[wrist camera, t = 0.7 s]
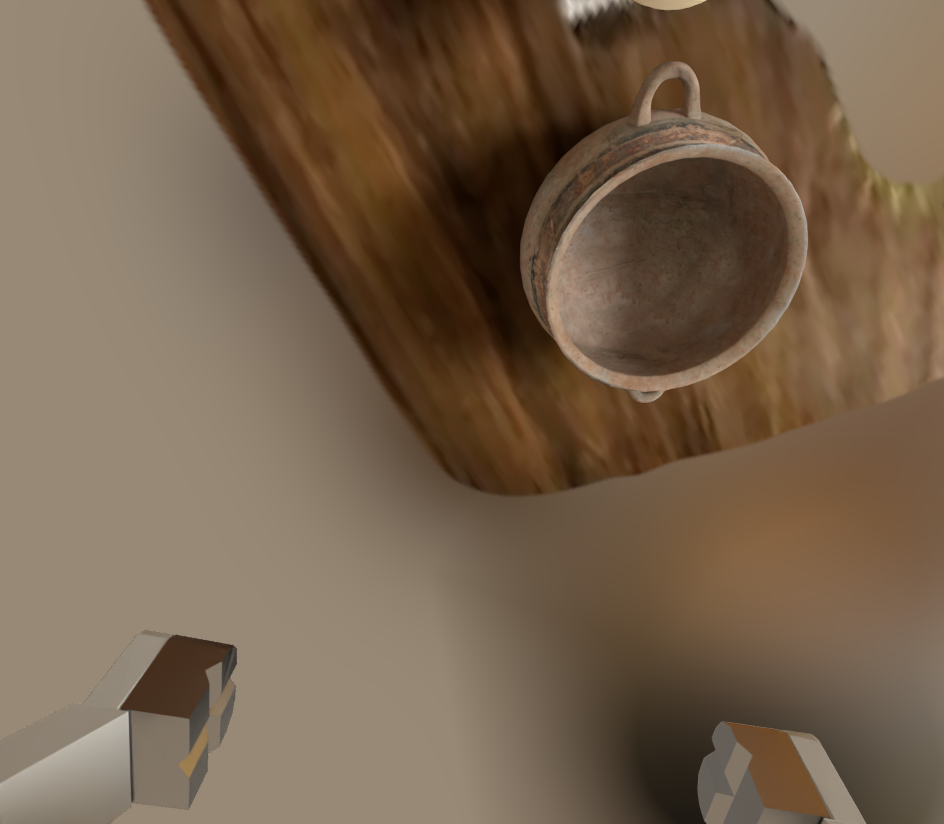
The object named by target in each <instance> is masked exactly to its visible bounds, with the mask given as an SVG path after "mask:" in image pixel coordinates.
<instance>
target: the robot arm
mask: <svg viewBox="0 0 944 824" xmlns="http://www.w3.org/2000/svg"><path fill="white" fill-rule="evenodd" d="M236 665H237V648H236V647H235V646H234V645H230V644H224V643H219V642H214V641H208V640H203V639H197V638H192V637H186V636H180V635H170V634H165V633H160V632H155V631H150V630H144V631H142V632H141V633H139V634H137V635H136V636H135V637H134V639H133V640H132V642H131V643H130V644H129V645H128V646H127V648H126V649H125V650H124V652H123V653H122V654H121V655H120V657H119V658H118V659H117V660H116V662H115V663H114V665H113V666H112V667H111V668H110V670H109V671H108V672H107V673H106V675H105V676H104V677H103V678H102V680H101V681H100V682H99V684H98V685H97V686H96V687H95V689H94V690H93V691H92V692H91V694H90V695H89V696H88V698H87V699H86V700H85V701H84V703H83V704H77V703H72V704H70V705H68V706H66V707H64V708H62V709H60V710H59V711H56V712H54V713H53V714H51V715H48V716H46V717H44V718H43V719H41V720H39V721H37V722H35V723H33V724H31V725H29V726H27V727H25V728H23V729H21V730H19V731H17V732H15V733H13V734H11V735H9V736H8V737H6V738H4V739H2V740H0V824H111V823H112V822H113V821H114V820H115V819H117V818H118V817H119V816H120V815H122V814H123V813H124V812H126V811H127V810H128V809H129V808H131V803H135V804H143V805H152V806H160V807H169V808H178V809H185V810H189V808H190V806H191V804H192V802H193V800H194V798H195V796H196V794H197V792H198V790H199V788H200V786H201V784H202V782H203V779H204V777H205V775H206V773H207V771H208V754H209V753H211V752H212V751H214V750H215V749H216V748H218V747H219V746H220V744H221V742H222V740H223V738H224V735H225V733H226V731H227V728H228V725H229V722H230V719H231V716H232V712H233V707H234V701H235V692H236V685H235V684H234V682H233V681H232V680H231V678H230V677H231V674H232V673H233V671H234V669H235V666H236ZM712 740H713V743H714V746H715V748H716V750H715V751H714V752H712V753H711V754H710V755H708V756H707V757H705V758H704V760H703V763H702V765H701V768H700V771H699V777H698V796H699V803H700V808H701V811H702V814H703V818H704V821H705V822H706V823H707V824H866V823H865V821H864V819H863V817H862V816H861V814H860V812H859V810H858V808H857V807H856V805H855V803H854V802H853V800H852V798H851V796H850V794H849V793H848V791H847V789H846V787H845V786H844V784H843V782H842V780H841V779H840V777H839V775H838V773H837V772H836V770H835V768H834V766H833V765H832V763H831V761H830V759H829V758H828V756H827V754H826V752H825V751H824V749H823V747H822V745H821V744H820V742H819V740H818V739H817V738H815V737H814V736H813V735H812V734H807V733H800V732H793V731H786V730H777V729H771V728H763V727H757V726H750V725H743V724H736V723H730V722H723V721H722V722H721V723H720V724H719V725H718V726H717V727H716V729H715V732H714V734H713V737H712Z"/></svg>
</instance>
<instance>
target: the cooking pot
mask: <svg viewBox="0 0 944 824" xmlns="http://www.w3.org/2000/svg"><path fill="white" fill-rule="evenodd" d="M672 78H678V79H680V80H681V81H682V84H683V86H684V91H685V101H684V105H683V108H682V109H653V110H651V101H652V98H653V95H654V93H655V91H656V89H657V88H658V86H659V85H660V84H661V83H662V82H663V81H664V80H667V79H672ZM807 245H808V237H807V221H806V217H805V214H804V210H803V206H802V203H801V200H800V198H799V197H798V195H797V193H796V191H795V189H794V187H793V185H792V184H791V182H790V181H789V180H788V179H787V178H786V177H785V176H784V175H783V173H782V172H781V171H780V170H779V169H778V168H777V167H776V166H774V165H773V164H771V163H770V162H769V160H768V158H767V156H766V155H765V154H764V152H763V151H762V150H761V149H760V148H759V147H758V146H757V145H756V144H755V142H754V141H753V140H752V139H751V138H750V137H749V136H748V135H746V134H745V133H743V132H742V131H740V130H739V129H738V128H736V127H735V126H733V125H732V124H730V123H729V122H727V121H724V120H722V119H719V118H717V117H714V116H712V115H709V114H707V113H704V112H701V109H700V89H699V83H698V80H697V77H696V75H695V73H694V72H693V70H692V69H691V68H690V67H689V66H688V65H687V64H685V63H682V62H677V61H674V62H667V63H664V64H661V65H659V66H658V67H656V68H655V69H654V70H653V71H652V72H651V73H650V74H649V75H648V77H647V78H646V80H645V81H644V83H643V85H642V87H641V89H640V91H639V93H638V95H637V97H636V99H635V102H634V104H633V107H632V109H631V112H630V114H629V115H628V116H625V117H623V118H621V119H618V120H616V121H613V122H611V123H609V124H606V125H604V126H602V127H601V128H599V129H598V130H596V131H595V132H593V133H591V134H590V135H588V136H587V137H585V138H583V139H582V140H581V141H580V142H579V143H577V144H576V145H575V146H574V147H573V148H572V149H571V150H569V151H568V152H567V153H566V154H565V155H564V156H563V157H562V158H561V159H560V160H559V162H558V163H557V164H556V165H555V166H554V168H553V169H552V170H551V171H550V172H549V174H548V175H547V176H546V178H545V180H544V181H543V183H542V185H541V186H540V188H539V190H538V191H537V193H536V195H535V196H534V199H533V201H532V204H531V207H530V209H529V212H528V214H527V217H526V219H525V224H524V228H523V233H522V238H521V245H520V269H521V276H522V282H523V287H524V290H525V293H526V296H527V298H528V301H529V304H530V307H531V309H532V311H533V312H534V314H535V316H536V317H537V319H538V321H539V322H540V324H541V325H542V327H543V328H544V329H545V330H546V331H547V332H548V333H549V335H550V336H551V337H552V338H553V339H554V340H555V341H556V343H557V344H558V346H559V348H560V349H561V351H562V353H563V354H564V355H565V357H566V358H567V359H568V360H569V361H570V362H571V363H572V364H573V365H574V366H575V367H576V368H577V369H579V370H580V371H581V372H583V373H584V374H586V375H587V376H589V377H590V378H592V379H594V380H596V381H598V382H601V383H603V384H605V385H607V386H611V387H615V388H619V389H623V390H627V391H628V393H629V394H630V396H631V397H632V398H633V399H634V400H636V401H637V402H641V403H647V402H651V401H654V400H656V399H657V398H659V397H660V396H661V395H662V393H663V392H664V390H669V389H673V388H678V387H683V386H687V385H689V384H692V383H695V382H698V381H701V380H703V379H706V378H708V377H710V376H712V375H714V374H716V373H718V372H720V371H722V370H724V369H726V368H727V367H728V366H730V365H731V364H733V363H734V362H736V361H737V360H739V359H740V358H742V357H743V356H745V355H746V354H747V353H748V352H749V351H750V350H751V349H753V348H754V347H755V346H756V345H757V344H758V343H759V342H761V340H762V339H763V338H764V337H765V336H766V335H767V334H768V333H769V331H770V330H771V329H772V328H773V327H774V326H775V325H776V323H777V322H778V320H779V319H780V317H781V316H782V315H783V313H784V312H785V310H786V309H787V307H788V306H789V304H790V302H791V300H792V298H793V295H794V293H795V291H796V289H797V287H798V285H799V282H800V279H801V276H802V272H803V269H804V266H805V260H806V253H807ZM640 391H643V392H640Z"/></svg>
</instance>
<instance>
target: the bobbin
mask: <svg viewBox="0 0 944 824" xmlns="http://www.w3.org/2000/svg"><path fill="white" fill-rule="evenodd" d="M632 1H634V2H636V3H638V4H641V5H644V6H648V7H651V8H655V9H662V10H677V9H683V8H688V7H691V6H694V5H697V4H699V3H702V2H704V1H706V0H632Z"/></svg>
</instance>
